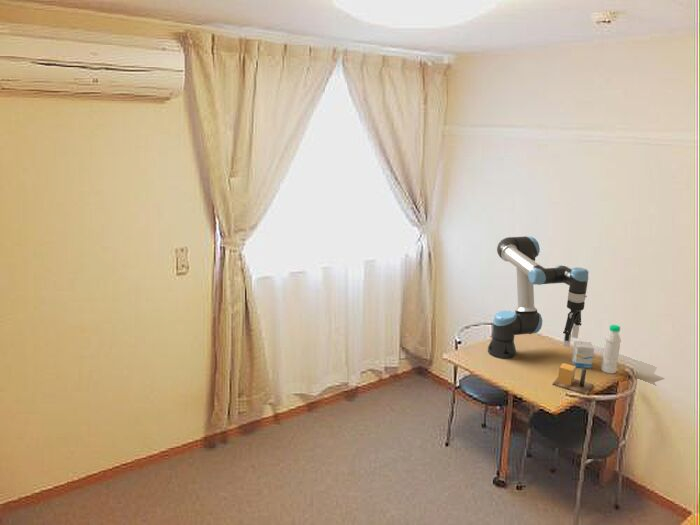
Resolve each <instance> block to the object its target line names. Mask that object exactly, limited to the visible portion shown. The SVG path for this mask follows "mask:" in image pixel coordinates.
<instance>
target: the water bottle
mask: <svg viewBox="0 0 700 525" xmlns="http://www.w3.org/2000/svg"><path fill="white" fill-rule="evenodd" d="M620 331H621V326H619V325H616V324H611V325H610V326H609V332H608V333H607V335H606V336H605V342H604V348H603V356H602V359H601V360H602V361H601V366H600V369H601V371H602V372H603V373H605V374H616V372H617V367H618V366H617V365H618V358H619V354H620V348H621V342H622V339H621V336H620V334H619V333H620Z"/></svg>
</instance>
